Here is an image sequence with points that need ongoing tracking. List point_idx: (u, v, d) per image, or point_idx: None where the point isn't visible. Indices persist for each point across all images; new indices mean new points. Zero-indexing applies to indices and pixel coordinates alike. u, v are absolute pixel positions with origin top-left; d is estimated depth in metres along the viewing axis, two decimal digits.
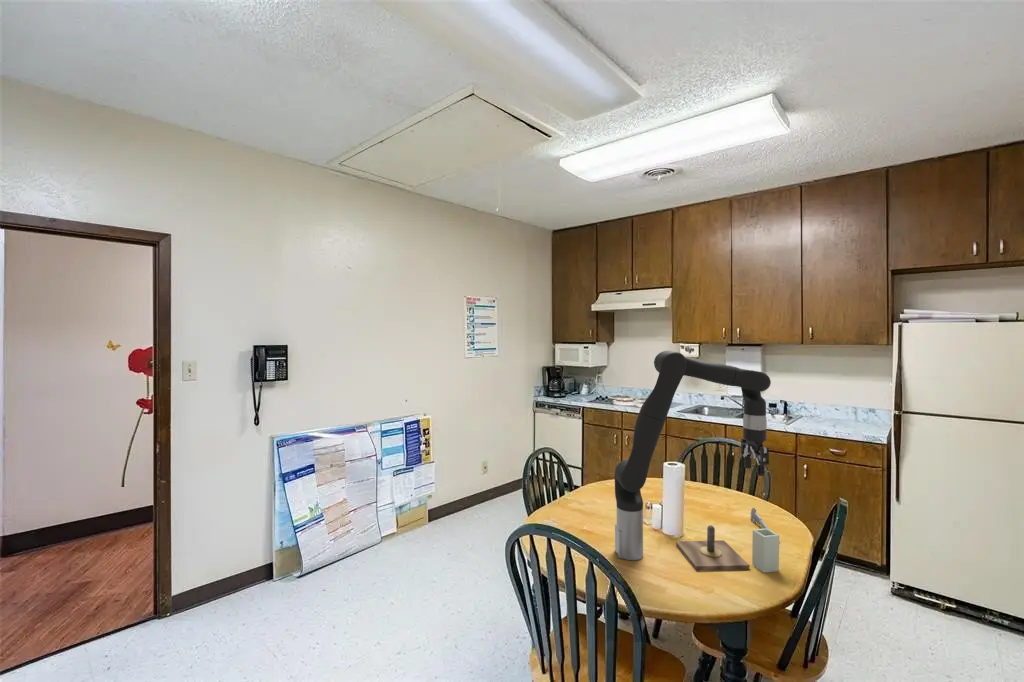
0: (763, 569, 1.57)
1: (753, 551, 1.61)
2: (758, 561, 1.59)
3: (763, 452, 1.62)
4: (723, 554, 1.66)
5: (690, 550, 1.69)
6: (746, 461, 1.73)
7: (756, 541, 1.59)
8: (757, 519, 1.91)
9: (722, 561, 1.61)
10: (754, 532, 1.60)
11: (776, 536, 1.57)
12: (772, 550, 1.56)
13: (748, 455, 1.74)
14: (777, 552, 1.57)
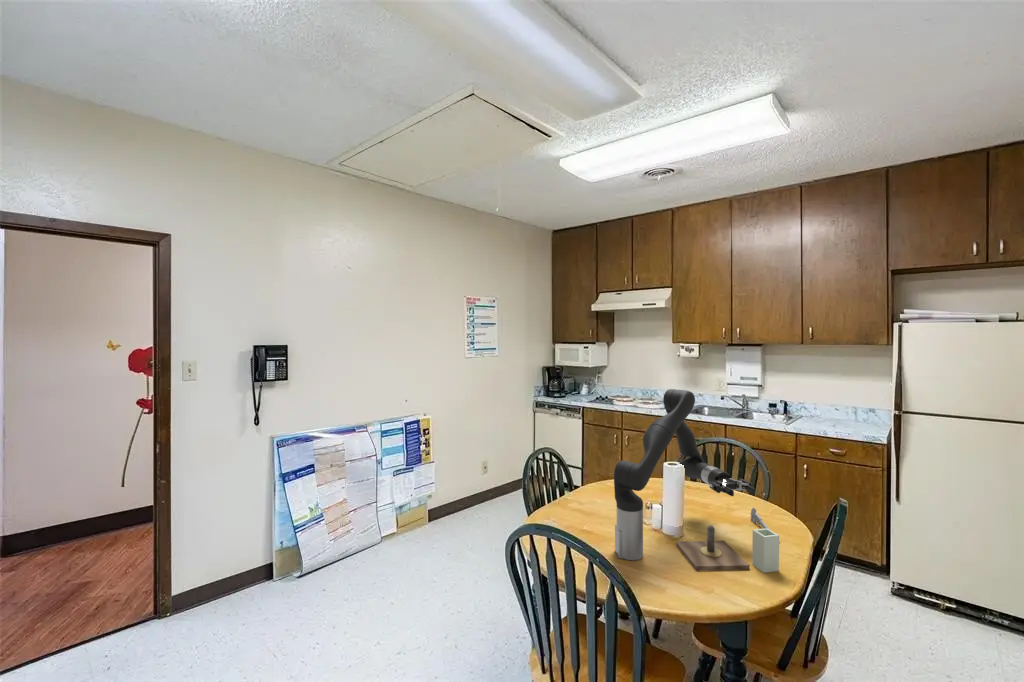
0: (763, 569, 1.57)
1: (753, 551, 1.61)
2: (758, 561, 1.59)
3: None
4: (723, 554, 1.66)
5: (690, 550, 1.69)
6: None
7: (756, 541, 1.59)
8: (757, 519, 1.91)
9: (722, 561, 1.61)
10: (754, 532, 1.60)
11: (776, 536, 1.57)
12: (772, 550, 1.56)
13: None
14: (777, 552, 1.57)
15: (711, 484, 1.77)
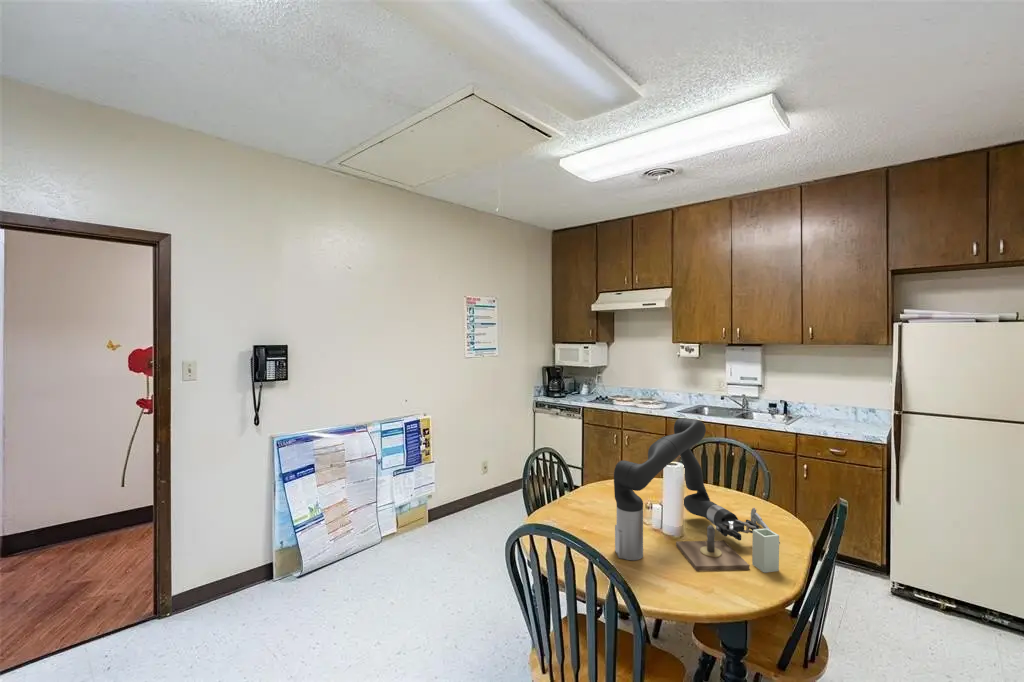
0: (763, 569, 1.57)
1: (753, 551, 1.61)
2: (758, 561, 1.59)
3: None
4: (723, 554, 1.66)
5: (690, 550, 1.69)
6: None
7: (756, 541, 1.59)
8: (757, 519, 1.91)
9: (722, 561, 1.61)
10: (754, 532, 1.60)
11: (776, 536, 1.57)
12: (772, 550, 1.56)
13: None
14: (777, 552, 1.57)
15: (718, 526, 1.73)
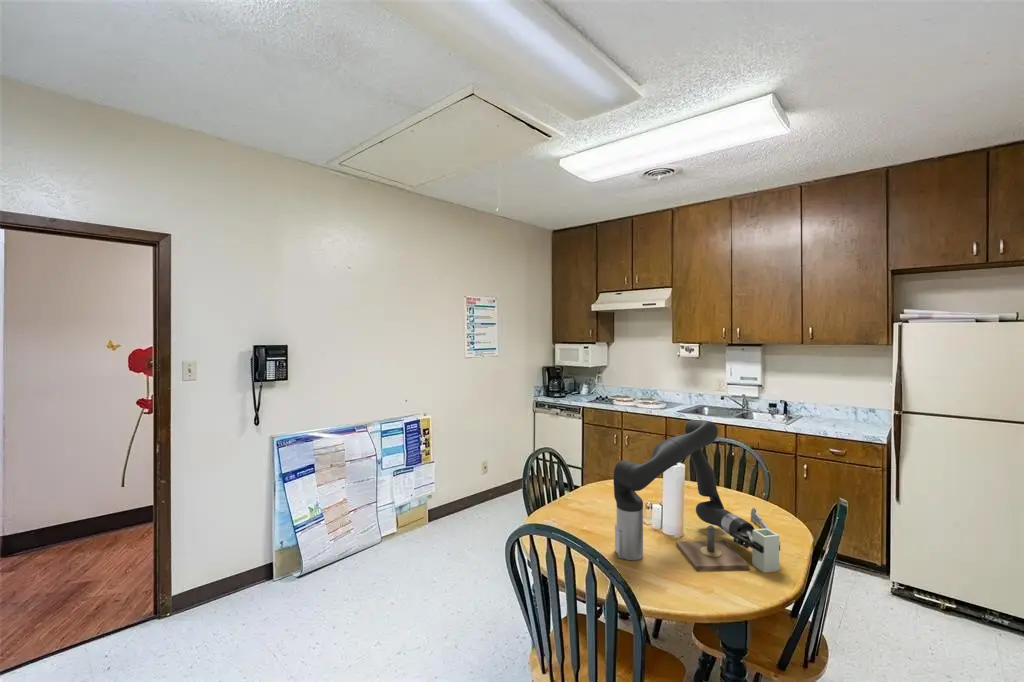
0: (763, 569, 1.57)
1: (753, 551, 1.61)
2: (758, 561, 1.59)
3: None
4: (723, 554, 1.66)
5: (690, 550, 1.69)
6: None
7: (756, 541, 1.59)
8: (757, 519, 1.91)
9: (722, 561, 1.61)
10: (754, 532, 1.60)
11: (776, 536, 1.57)
12: (772, 550, 1.56)
13: None
14: (777, 552, 1.57)
15: (736, 538, 1.64)
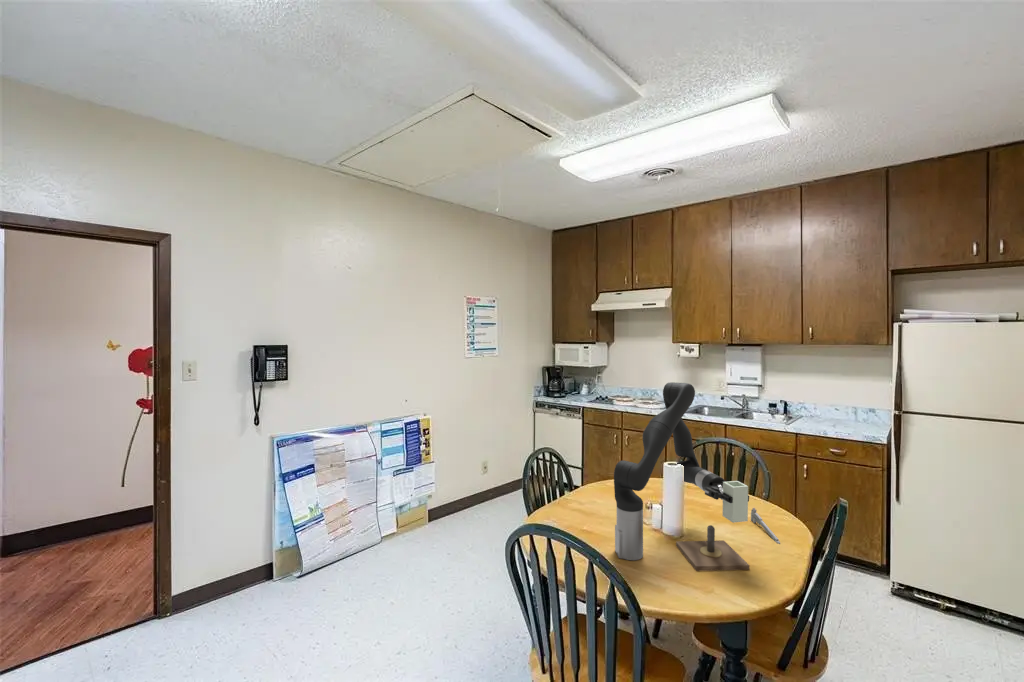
0: (731, 519, 1.60)
1: (723, 502, 1.64)
2: (727, 512, 1.62)
3: None
4: (723, 554, 1.66)
5: (690, 550, 1.69)
6: None
7: (726, 492, 1.63)
8: (757, 519, 1.91)
9: (722, 561, 1.61)
10: (724, 484, 1.63)
11: (745, 487, 1.60)
12: (741, 500, 1.60)
13: None
14: (746, 503, 1.60)
15: (707, 490, 1.67)
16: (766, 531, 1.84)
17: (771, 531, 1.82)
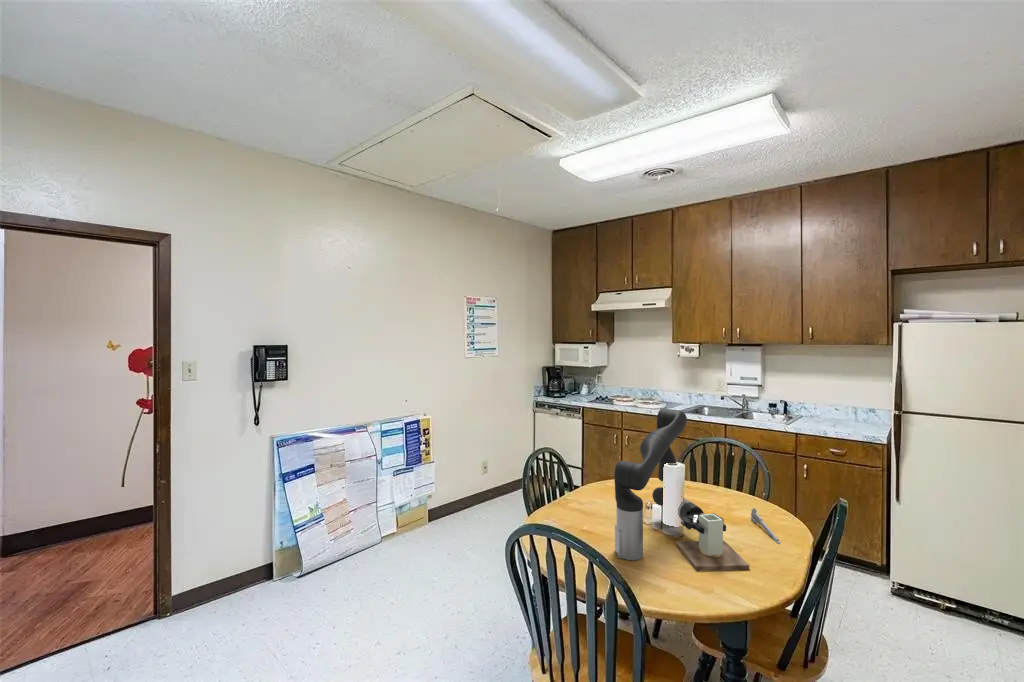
0: (707, 552, 1.64)
1: (699, 535, 1.69)
2: (703, 545, 1.66)
3: None
4: (723, 554, 1.66)
5: (690, 550, 1.69)
6: None
7: (702, 526, 1.67)
8: (757, 519, 1.91)
9: (722, 561, 1.61)
10: (700, 517, 1.68)
11: (720, 521, 1.64)
12: (716, 534, 1.64)
13: None
14: (721, 536, 1.64)
15: (682, 520, 1.72)
16: (766, 531, 1.84)
17: (771, 531, 1.82)
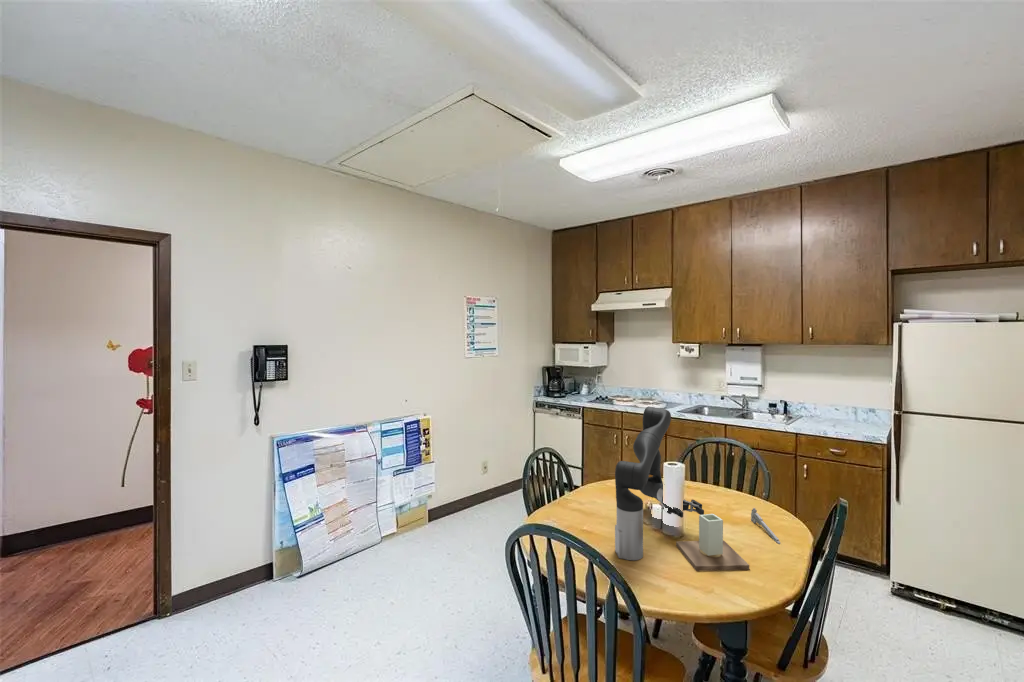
0: (707, 552, 1.64)
1: (699, 535, 1.69)
2: (703, 545, 1.66)
3: None
4: (723, 554, 1.66)
5: (690, 550, 1.69)
6: None
7: (702, 526, 1.67)
8: (758, 519, 1.91)
9: (722, 561, 1.61)
10: (700, 517, 1.68)
11: (720, 521, 1.64)
12: (716, 534, 1.64)
13: None
14: (721, 536, 1.64)
15: (663, 505, 1.85)
16: (766, 531, 1.84)
17: (771, 531, 1.82)
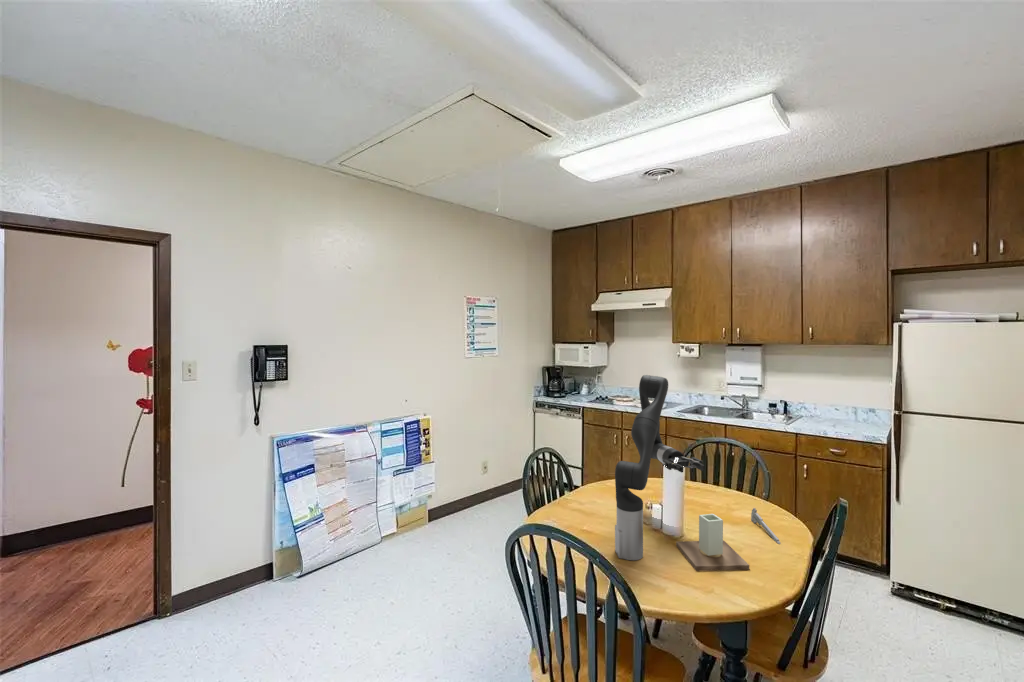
0: (707, 552, 1.64)
1: (699, 535, 1.69)
2: (703, 545, 1.66)
3: None
4: (723, 554, 1.66)
5: (690, 550, 1.69)
6: None
7: (702, 526, 1.67)
8: (758, 519, 1.91)
9: (722, 561, 1.61)
10: (700, 517, 1.68)
11: (720, 521, 1.64)
12: (716, 534, 1.64)
13: None
14: (721, 536, 1.64)
15: (664, 462, 1.84)
16: (766, 530, 1.84)
17: (771, 531, 1.82)
